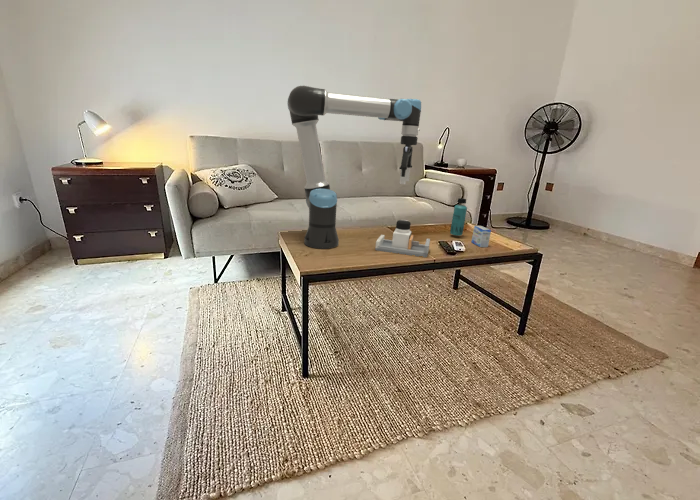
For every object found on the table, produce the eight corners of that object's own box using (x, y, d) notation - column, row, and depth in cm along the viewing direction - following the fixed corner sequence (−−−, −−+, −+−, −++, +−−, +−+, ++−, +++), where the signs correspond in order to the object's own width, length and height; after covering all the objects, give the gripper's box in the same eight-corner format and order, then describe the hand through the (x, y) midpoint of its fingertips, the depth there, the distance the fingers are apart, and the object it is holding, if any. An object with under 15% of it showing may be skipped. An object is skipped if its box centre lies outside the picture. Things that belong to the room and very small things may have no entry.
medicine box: (470, 242, 171) (473, 225, 168) (479, 242, 172) (482, 225, 169) (479, 247, 163) (483, 229, 161) (488, 247, 164) (491, 229, 162)
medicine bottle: (407, 250, 148) (411, 223, 144) (391, 248, 149) (394, 221, 146) (409, 246, 154) (413, 220, 151) (394, 244, 156) (396, 218, 152)
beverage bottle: (450, 234, 183) (456, 196, 177) (463, 236, 181) (469, 198, 175) (448, 237, 178) (454, 198, 172) (461, 239, 175) (468, 200, 169)
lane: (375, 250, 149) (376, 239, 147) (380, 242, 160) (381, 232, 158) (426, 257, 144) (428, 246, 142) (428, 249, 155) (430, 238, 153)
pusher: (407, 250, 147) (409, 239, 145) (410, 245, 155) (411, 234, 153) (417, 252, 146) (418, 240, 144) (419, 246, 154) (420, 236, 152)
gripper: (414, 135, 146) (409, 186, 153) (420, 136, 169) (414, 180, 176) (397, 134, 148) (392, 184, 154) (404, 135, 171) (400, 179, 177)
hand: (404, 182), depth 165 cm, fingers open, 13 cm apart
